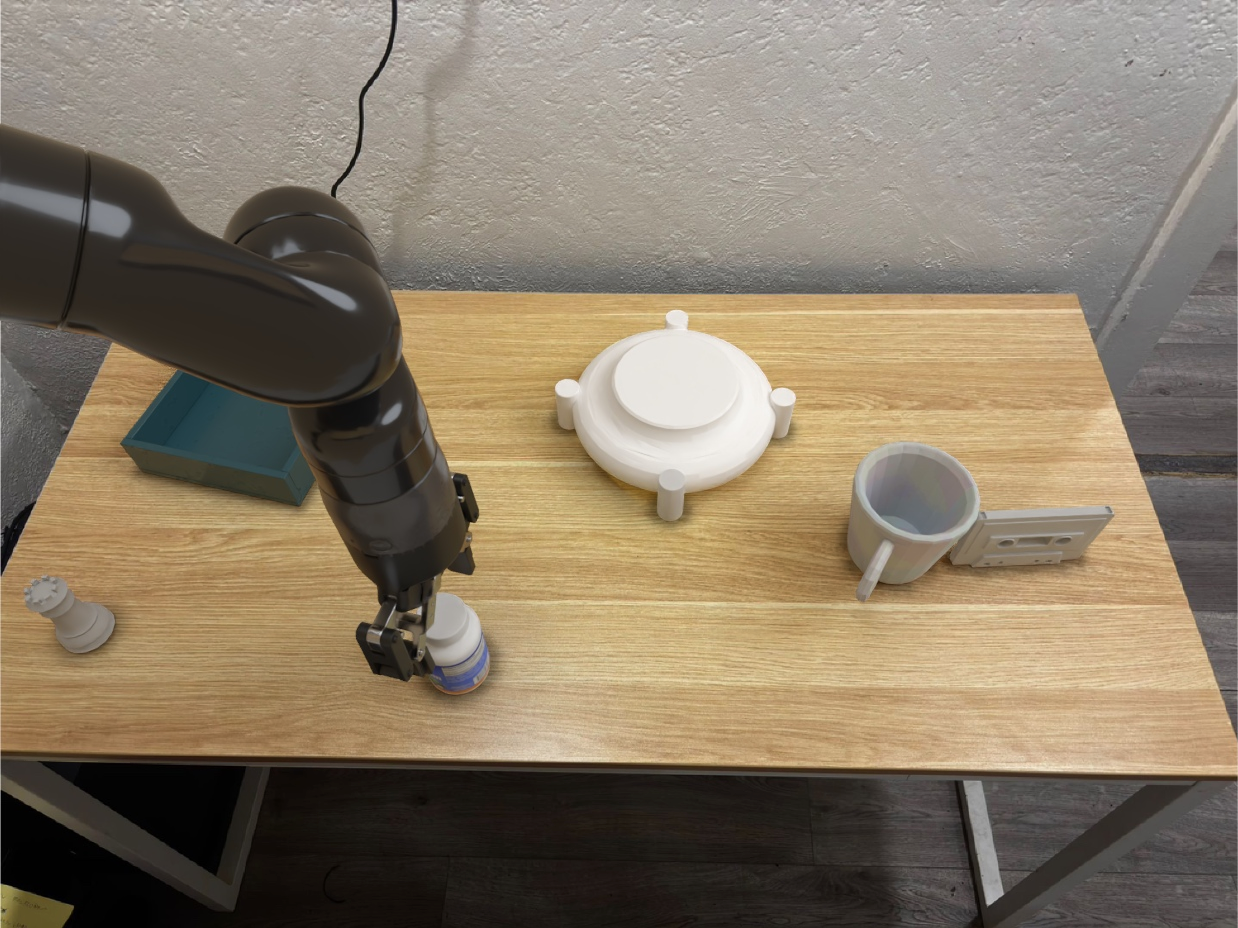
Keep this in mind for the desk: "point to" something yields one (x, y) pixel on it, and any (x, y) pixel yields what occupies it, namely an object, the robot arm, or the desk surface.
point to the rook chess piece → (69, 614)
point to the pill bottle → (456, 646)
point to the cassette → (1030, 536)
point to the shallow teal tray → (219, 441)
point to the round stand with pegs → (674, 411)
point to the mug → (907, 512)
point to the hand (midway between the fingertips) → (442, 617)
